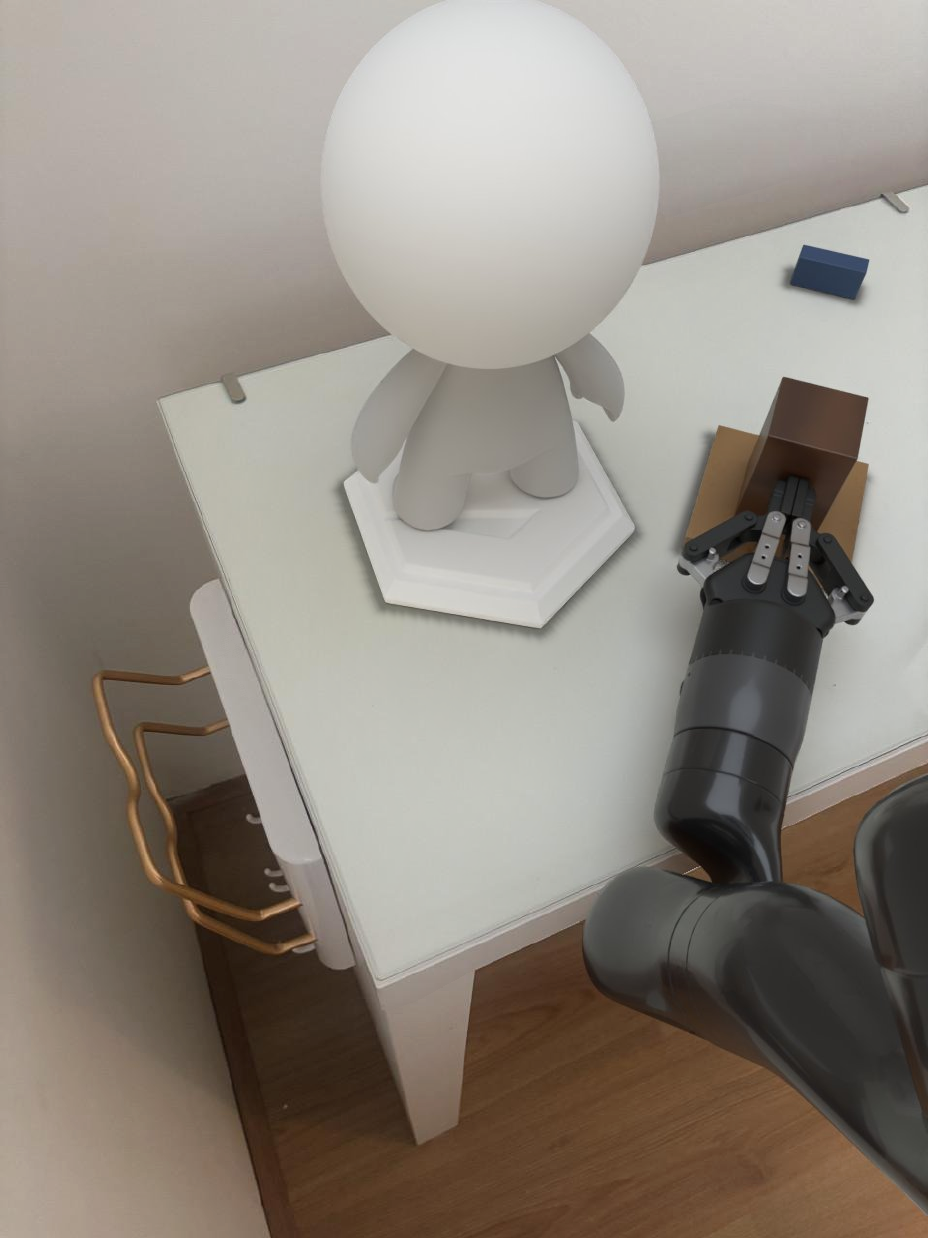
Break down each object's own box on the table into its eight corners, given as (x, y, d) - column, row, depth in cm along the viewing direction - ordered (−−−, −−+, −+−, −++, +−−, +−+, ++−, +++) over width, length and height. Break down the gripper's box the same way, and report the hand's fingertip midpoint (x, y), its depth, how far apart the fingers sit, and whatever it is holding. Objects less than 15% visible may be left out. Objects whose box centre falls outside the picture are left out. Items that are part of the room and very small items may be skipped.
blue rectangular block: (857, 286, 86) (869, 258, 83) (854, 299, 85) (866, 272, 82) (793, 271, 87) (803, 243, 84) (789, 284, 86) (799, 256, 83)
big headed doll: (550, 380, 79) (605, -105, 49) (666, 591, 68) (828, 127, 38) (325, 436, 76) (238, -50, 46) (408, 668, 64) (362, 225, 34)
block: (861, 476, 74) (917, 378, 65) (841, 593, 68) (899, 504, 59) (714, 437, 76) (748, 337, 67) (681, 548, 70) (714, 455, 61)
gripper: (879, 699, 52) (913, 475, 60) (652, 629, 54) (715, 422, 62) (833, 750, 58) (870, 542, 67) (632, 686, 61) (691, 492, 69)
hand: (795, 484), depth 65 cm, fingers closed
